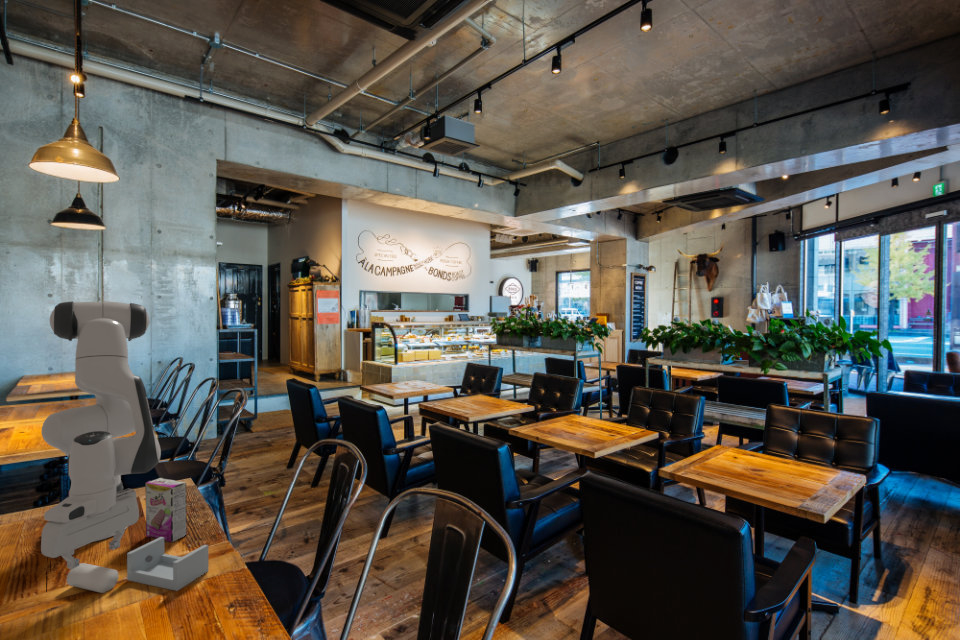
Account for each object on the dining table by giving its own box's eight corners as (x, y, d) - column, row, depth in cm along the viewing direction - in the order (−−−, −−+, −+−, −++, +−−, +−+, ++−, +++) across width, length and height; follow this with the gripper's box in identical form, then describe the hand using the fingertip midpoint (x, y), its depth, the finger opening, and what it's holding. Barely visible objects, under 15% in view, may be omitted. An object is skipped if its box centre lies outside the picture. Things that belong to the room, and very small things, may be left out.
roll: (67, 590, 114) (65, 570, 113) (89, 577, 118) (88, 558, 118) (97, 597, 111) (96, 577, 110) (119, 584, 116) (117, 565, 115)
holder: (127, 580, 117) (127, 553, 117) (161, 562, 126) (160, 536, 126) (177, 590, 113) (176, 562, 113) (208, 571, 122) (208, 545, 122)
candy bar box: (144, 537, 140) (144, 482, 140) (160, 530, 145) (160, 477, 145) (171, 543, 136) (171, 487, 136) (187, 535, 141) (187, 481, 141)
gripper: (126, 484, 125) (127, 536, 125) (35, 516, 105) (36, 577, 105) (144, 486, 123) (145, 539, 123) (55, 519, 104) (56, 581, 104)
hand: (94, 557), depth 114 cm, fingers open, 8 cm apart
